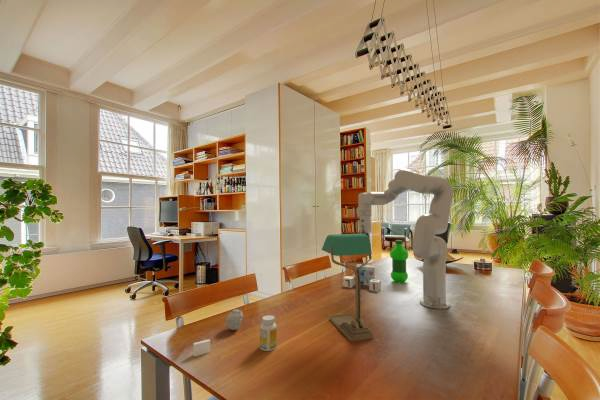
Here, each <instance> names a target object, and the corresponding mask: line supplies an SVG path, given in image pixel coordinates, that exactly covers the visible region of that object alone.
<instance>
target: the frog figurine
mask: <svg viewBox="0 0 600 400" xmlns="http://www.w3.org/2000/svg"><path fill="white" fill-rule="evenodd" d="M243 318H244V313H243V311H241V310H239V309H235V308H234V309H232V311H230V312H229V313H228V314H227V315H226V319H225V321H224V322H225V324H226V326H227V328H228V329H229V330H231V331H236V330H237V329H239V327H240V326H241V324H242V322H243Z"/></svg>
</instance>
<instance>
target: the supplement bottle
mask: <svg viewBox="0 0 600 400" xmlns="http://www.w3.org/2000/svg"><path fill="white" fill-rule="evenodd" d="M275 318H276V317H275V316H274V315H271V314H270V315H264V316H262V319H261V320H262V321H261V322H262V323H261V324H260V326H259V349H260V351H263V352H271V351H273V350H275V349H276V348H277V327H278V326H277V324H276V322H275V321H276V319H275Z"/></svg>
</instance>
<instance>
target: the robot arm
mask: <svg viewBox="0 0 600 400" xmlns="http://www.w3.org/2000/svg"><path fill="white" fill-rule="evenodd" d="M387 185H388V189H386V190H384V191H382V192H381V191H370V192H360V193H359V194H358V196H357V197H358V199H357V200H358V214H357V215H358V217H359V220H358V221H359V223H358V224H359V227H358V228H359V234H365V235H367V236H369V238H370V237H371V236H370V233H372V219H371V218H372V206H384V205H387V204H389V203H391V202H393V201H395V200H396V199H397V198H398V197H399V195H401V194H404V193H405V192H406V191H413V192H416V193H418V194H423V195H424V194H428V195H433V197H432V200H431V202H430V204H429V205H430V206H429V211H428V213H426V214H425V213H424V214H422V215H421V216H419V217H418V218H417V220H416V222H415V225H414V226H415V227H414V231H413V239H412V252H413V254H414V255H415V256H416V257H417V258H419V259H421V260H422V259H423V264H422V276H423V277H422V283H423V284H422V286H423V287H422V290H423V291H422V292H423V293H422V295H423V296H422V298H420V299H419V303H420V304H421V305H422V306H424V307H426V308H431V309H435V310H436V309H440V310H443V309H449V308H450V306H451V304H450V302H448V301H447V291H446V290H447V289H446V288H447V287H446V286H447V285H446V284H447V283H446V280H447V279H446V276H447V275H446V273H447V271H446V269H447V268H446V267H447V265H446V264H447V263H446V262H447V256H448V255H447V254H448V244H447V242H446V240H444V239H443V238H442V237H440V236H437V235H441V234H443V233H446V232H447V230H448V226H449V220H450V213H451V207H452V202H453V197H454V190H453V186H452V184H451V182H449V181H448V180H447V179H446V178H444V177H441V176H438V175H437V176H436V175H427V174H422V173H420V172H419V171H418V170H416V169H412V168H411V169H410V168H409V169H408V168H402V169H401V168H400V169H399V170H397V172H395V174H394V178H393V179H391V180H390V181H389V182H388V184H387Z"/></svg>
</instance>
